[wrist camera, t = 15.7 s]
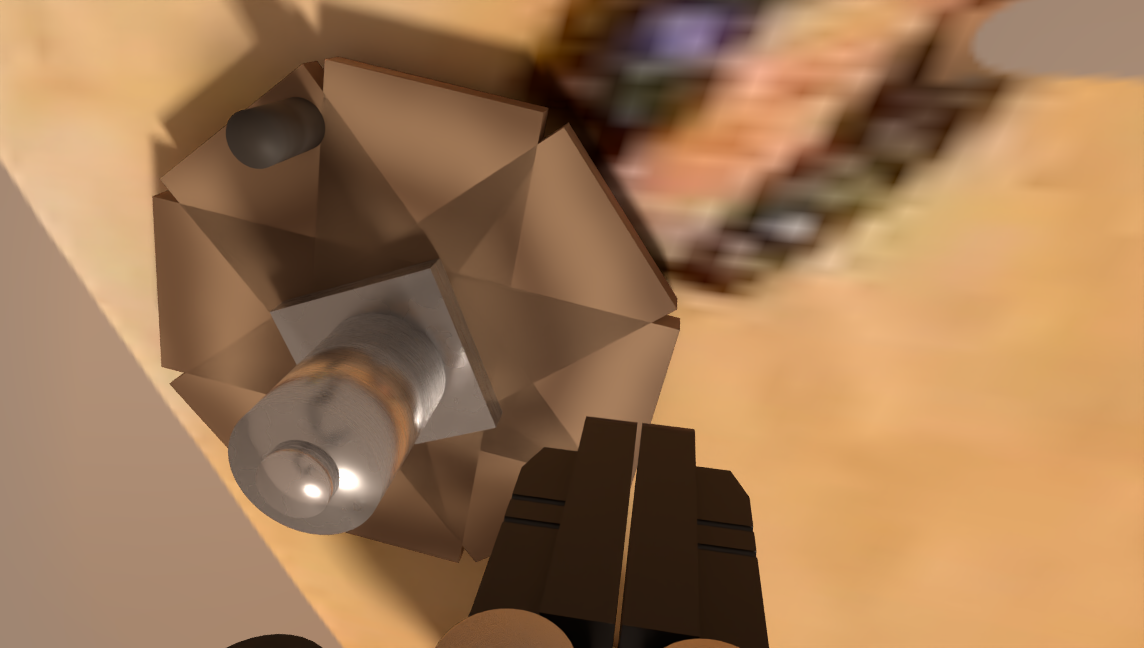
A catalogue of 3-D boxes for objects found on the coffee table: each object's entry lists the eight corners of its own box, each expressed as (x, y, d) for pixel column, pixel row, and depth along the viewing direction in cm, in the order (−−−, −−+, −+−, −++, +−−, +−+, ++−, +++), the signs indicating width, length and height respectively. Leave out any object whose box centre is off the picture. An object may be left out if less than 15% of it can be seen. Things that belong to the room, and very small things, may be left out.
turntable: (182, 471, 45) (121, 528, 40) (163, 13, 33) (73, 17, 28) (597, 582, 44) (587, 655, 39) (731, 152, 32) (739, 180, 27)
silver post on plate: (356, 443, 40) (249, 589, 30) (284, 300, 37) (139, 412, 27) (502, 412, 38) (439, 559, 28) (440, 257, 35) (343, 362, 25)
